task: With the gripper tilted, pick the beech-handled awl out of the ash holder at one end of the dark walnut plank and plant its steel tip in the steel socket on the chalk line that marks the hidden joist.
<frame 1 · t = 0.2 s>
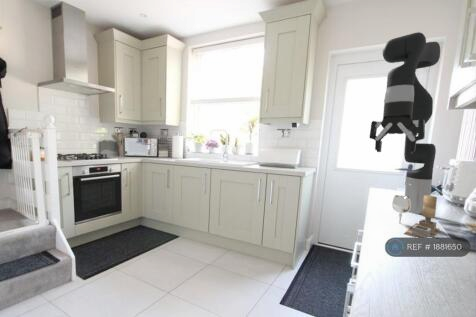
hand: (393, 152, 71), 29 cm above the countertop, tool pointing down, fingers open, 8 cm apart
wineglass: (399, 227, 85), on the countertop
plank: (421, 235, 78), on the countertop
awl: (427, 228, 80), point 1 cm above the countertop, touching plank
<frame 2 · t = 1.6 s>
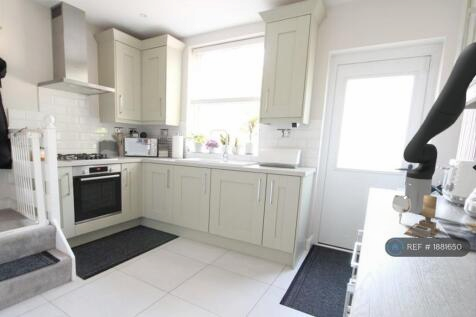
nothing on the countertop moved.
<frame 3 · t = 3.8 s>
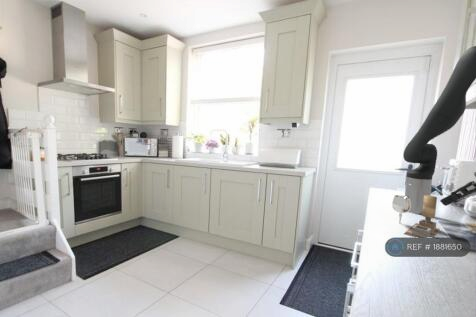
hand: (447, 201, 75), 13 cm above the countertop, tool tilted 45°, fingers open, 8 cm apart
nothing on the countertop moved.
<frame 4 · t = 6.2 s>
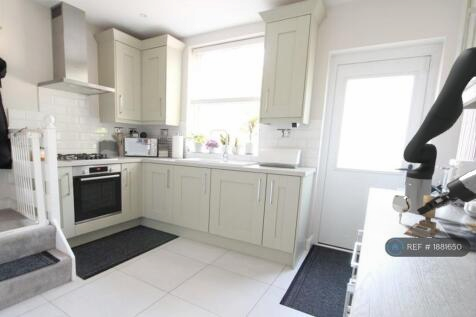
hand: (421, 211, 82), 7 cm above the countertop, tool tilted 45°, fingers closed on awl, 3 cm apart
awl: (427, 228, 80), point 2 cm above the countertop, touching gripper, plank
everything else where it was.
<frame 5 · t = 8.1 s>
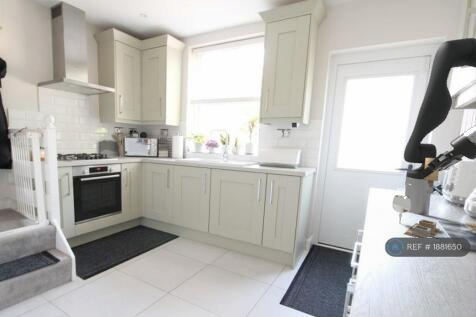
hand: (423, 175, 76), 21 cm above the countertop, tool tilted 45°, fingers closed on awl, 3 cm apart
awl: (429, 193, 75), point 16 cm above the countertop, touching gripper
everything else where it was.
when the fingers open (9 cm above the countertop, at t = 10.5 s): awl drops 1 cm, resting on plank.
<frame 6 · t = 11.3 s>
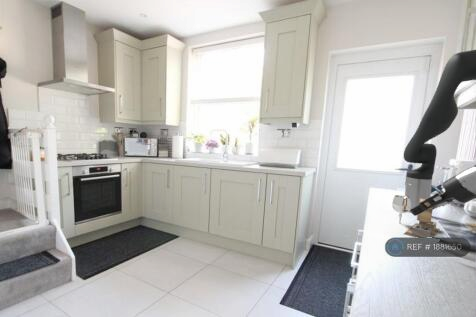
hand: (418, 211, 75), 9 cm above the countertop, tool tilted 45°, fingers open, 8 cm apart
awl: (421, 234, 74), point 2 cm above the countertop, tilted 10°, touching gripper, plank
everything else where it was.
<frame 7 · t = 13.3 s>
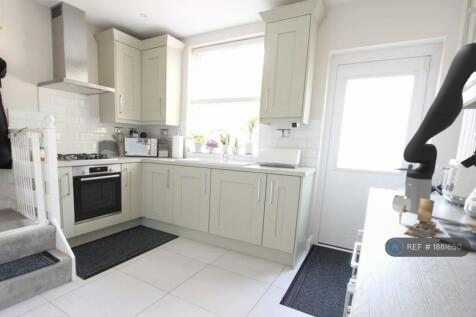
hand: (468, 165, 67), 26 cm above the countertop, tool tilted 45°, fingers open, 8 cm apart
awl: (421, 234, 74), point 2 cm above the countertop, tilted 13°, touching plank
everything else where it was.
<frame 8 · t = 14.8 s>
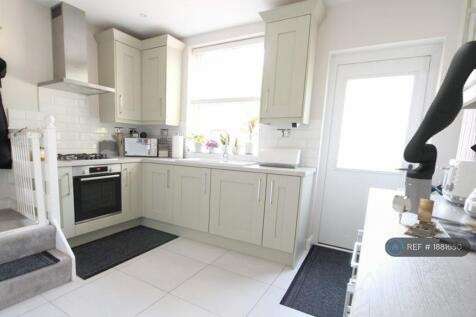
nothing on the countertop moved.
at the end: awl 0.1 cm from the target spot on the plank, point 1.7 cm above the plank's base; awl tilted 13°; the gripper is holding nothing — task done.
